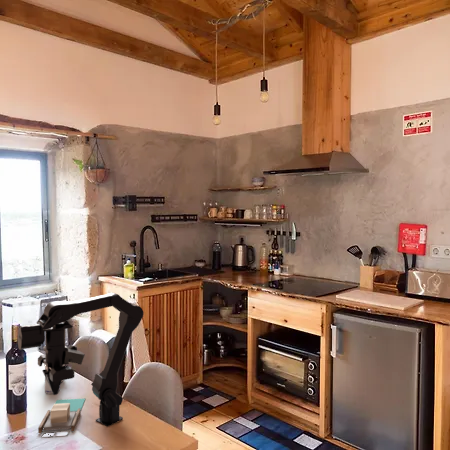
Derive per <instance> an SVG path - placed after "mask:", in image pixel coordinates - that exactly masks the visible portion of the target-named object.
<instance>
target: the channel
mask: <svg viewBox="0 0 450 450" xmlns="http://www.w3.org/2000/svg"><path fill="white" fill-rule="evenodd" d="M81 411H82V409H81V408H78V410H77V412H76V415H75V418H74V420H73V423H72V425H71V428H70V432H71V431H74V432H75V430H76V427H77V424H78V422H79V419H80V417H81V414H82V413H81ZM50 412H51V409H48V410H47V411H46V412H45V414H44V416H43V418H42V420H41V421H40V424H39V425H38V428H37V429H38V430H37V431H38V432H37V434H38V433H41V432H42V433H41V436H40V438H41V437H42V436H43V435H44V434H46V433H54V432H55V431H50V432H49V431H48V432H43V431H44V429H43V428H44V426H45V424H46V422H47V420H48V418H49V416H50V414H51V413H50ZM42 430H43V431H42ZM48 435H49V434H48ZM50 436H51V435H50Z"/></svg>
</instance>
